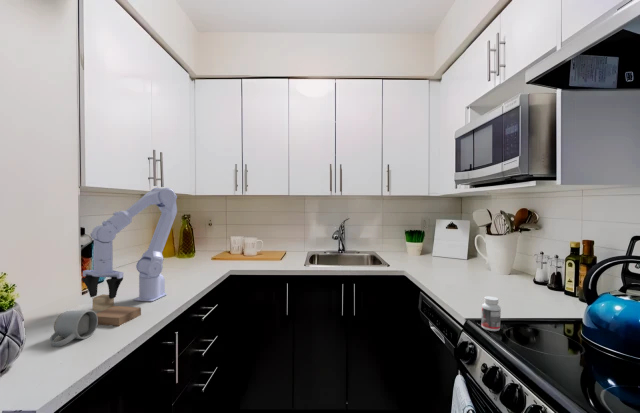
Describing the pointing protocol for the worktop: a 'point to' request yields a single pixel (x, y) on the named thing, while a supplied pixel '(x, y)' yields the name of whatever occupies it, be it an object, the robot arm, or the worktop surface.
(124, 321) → the walnut block
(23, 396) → the worktop surface
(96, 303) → the oak cube
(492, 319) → the pill bottle
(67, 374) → the worktop surface
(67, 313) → the ceramic mug
